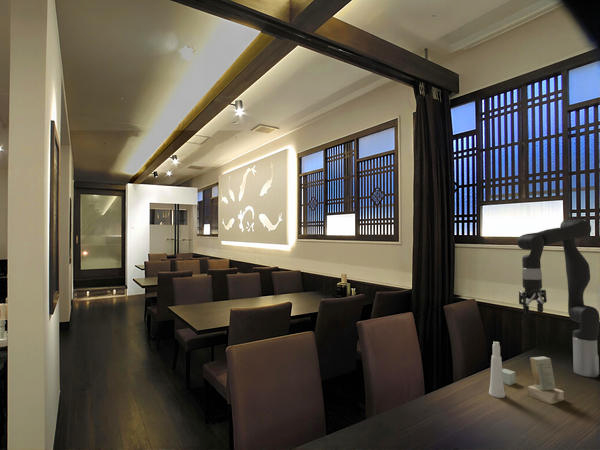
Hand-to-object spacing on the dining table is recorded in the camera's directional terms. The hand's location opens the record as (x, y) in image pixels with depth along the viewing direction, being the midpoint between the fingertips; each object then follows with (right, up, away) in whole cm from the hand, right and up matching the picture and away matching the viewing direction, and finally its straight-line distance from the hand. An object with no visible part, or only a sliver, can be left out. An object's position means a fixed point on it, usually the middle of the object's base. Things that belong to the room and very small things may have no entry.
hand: (533, 313), depth 162 cm
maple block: (-5, -32, -16) cm, 36 cm away
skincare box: (-6, -27, -16) cm, 32 cm away
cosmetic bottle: (-24, -31, -13) cm, 42 cm away
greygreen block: (-12, -32, -1) cm, 34 cm away
